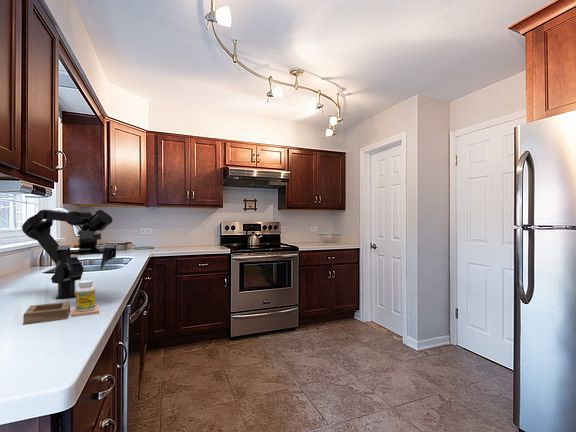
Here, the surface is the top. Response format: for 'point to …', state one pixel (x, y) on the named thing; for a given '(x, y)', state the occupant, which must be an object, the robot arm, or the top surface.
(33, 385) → the top surface
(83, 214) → the robot arm
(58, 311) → the pocket block
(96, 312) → the coaster
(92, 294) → the supplement bottle
